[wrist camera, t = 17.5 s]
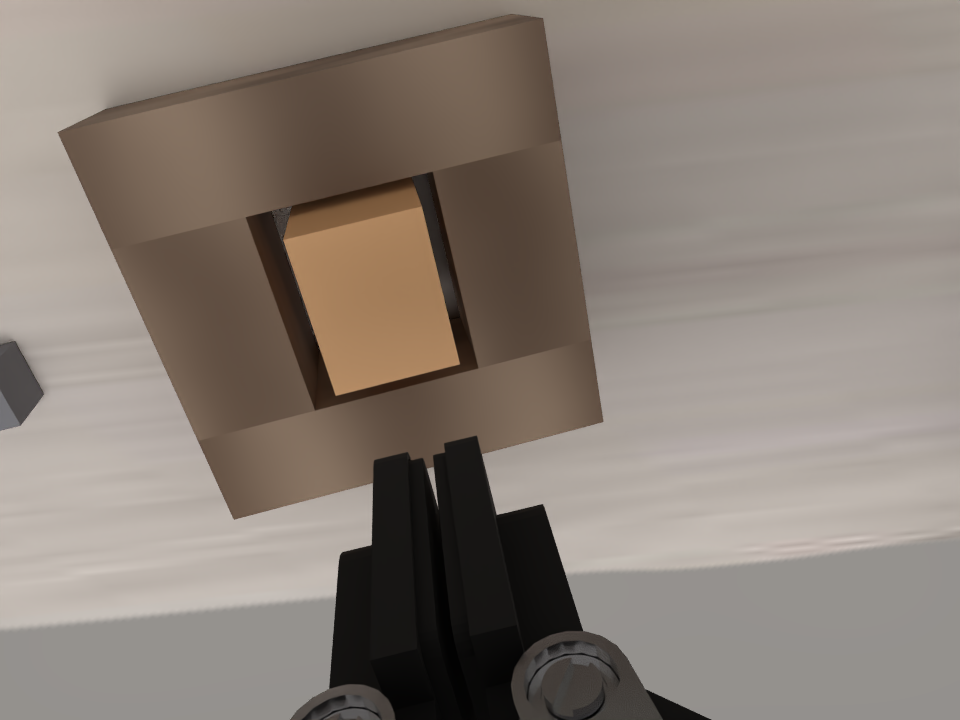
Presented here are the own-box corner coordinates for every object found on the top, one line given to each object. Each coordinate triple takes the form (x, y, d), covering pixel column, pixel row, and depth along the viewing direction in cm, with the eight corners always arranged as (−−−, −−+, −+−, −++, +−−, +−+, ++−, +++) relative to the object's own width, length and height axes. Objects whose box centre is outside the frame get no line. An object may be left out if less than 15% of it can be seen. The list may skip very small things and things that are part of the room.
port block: (511, 14, 22) (542, 18, 18) (570, 366, 28) (603, 421, 24) (105, 108, 21) (57, 132, 18) (248, 450, 27) (234, 519, 23)
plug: (404, 157, 23) (421, 206, 18) (436, 286, 25) (459, 364, 20) (297, 183, 23) (283, 240, 18) (338, 311, 25) (335, 396, 20)
